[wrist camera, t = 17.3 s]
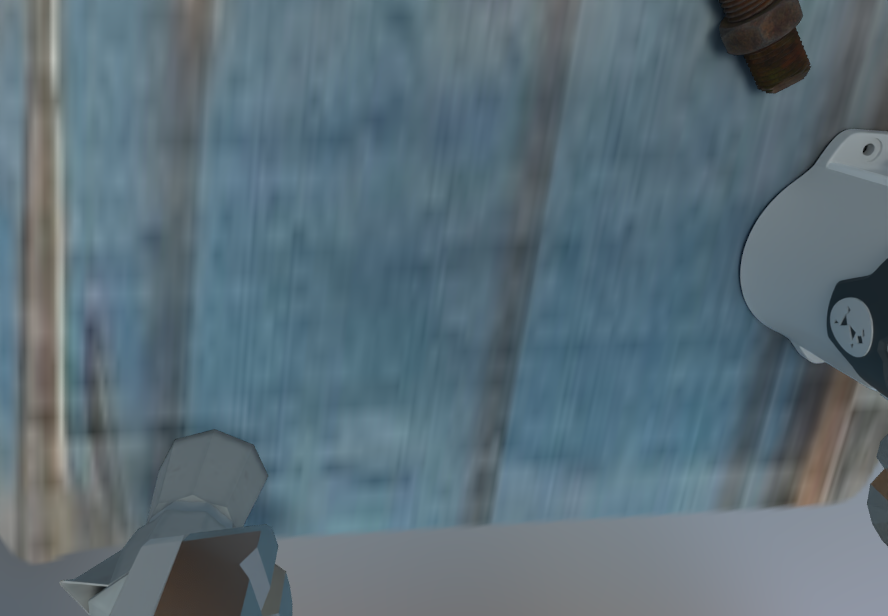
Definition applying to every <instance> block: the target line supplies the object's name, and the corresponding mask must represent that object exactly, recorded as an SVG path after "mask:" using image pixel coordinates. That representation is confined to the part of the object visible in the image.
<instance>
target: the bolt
mask: <svg viewBox="0 0 888 616" xmlns="http://www.w3.org/2000/svg"><path fill="white" fill-rule="evenodd" d="M719 3H722V4H721V7H722V8H724V10H723V12H724V13H726V15H725V17H724V18H723V20H722V21H721V23H720V26H719V29H720V35H721V39H722V41H723V43H724V45H725V47H726V50H727V52H728V53H729V54H734V55H744V58H745V59H746V63H748V67H749V68H750V71H751V72H752V76H753V77H754V80H755V81H756V82H755V83H756V85H758V86H757V88H758V89H761V90H762V91H766V93H777V92H779V91H781V90H783V89H785V88H787V87H789V86H791V85H793V84H795V83H797V82H798V81H800V80H802V79H804V77H805V76H806V75H807V73H808V71H809V70H810V67H811V66H809V65H810V62H809V59H808V58H807V55H806V52H805V50H804V46H803V45H802V41H800V37H799V35H798V32H797V31H796V26H797V25H798V24H799V22H800V21H801V19H802V17H803V14H802V10H801V7H800V4H799V1H798V0H719Z"/></svg>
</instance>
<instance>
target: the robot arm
mask: <svg viewBox="0 0 888 616" xmlns="http://www.w3.org/2000/svg"><path fill="white" fill-rule="evenodd" d="M866 145H868V147H867V150H866V151H865V152H864V153H863V148H864V147H865V146H866ZM740 280H741V288H742V292H743V296H744V299H745V301H746V303H747V305H748V307H749V309H750V310H751V312H752V313H753V315H754V316H755V317H756V318H757V319H758V320H759V321H760V322H761V323H763V324H764V325H765V326H767V327H768V328H770V329H772V330H774V331H776V332H778V333H780V334H782V335H784V336H786V337H787V338H788V339H790V341H791V342H792V344H793V346H794V347H795V349H796V350H797V351H798V353H799V354H800V355H801V356H802V357H804V358H805V359H807V360H809V361H810V362H812V363H817V364H818V363H824V362H826V363H828V364H830V365H831V366H833V367H834V368H836V369H838V370H839V371H841V372H843V373H844V374H846V375H848V376H849V377H851V378H853V379H854V380H856V381H858V382H859V383H861V384H863V385H865V386H866V387H868V388H870V389H872V390H875V391H879V392H880V395H881V396H883V397H884V398H885V399H887V400H888V131H877V130H864V129H848V130H845V131H843V132H841V133H840V134H838V135H837V136H836V137H835V138H834V139H833V140H832V141H831V143H830V144H829V145H828V146H827V148H826V149H825V150H824V152H823V153H822V155H821V156H820V157H819V159H818V160H817V162H816V163H815V165H814V166H813V167H812V168H811V169H810V170H808V171H807V172H806V173H805V174H804V175H802V176H801V177H800V178H798V179H797V180H796V181H794V182H793V183H792V184H790V185H789V186H788V187H787V188H785V189H784V190H783V191H782V192H781V193H780V194H779V195H778V196H777V197H776V198H775V199H774V200H773V201H772V202H771V203H770V204H769V205H768V206H767V208H766V209H765V210H764V211H763V213H762V214H761V216H760V217H759V219H758V220H757V222H756V223H755V225H754V227H753V229H752V231H751V233H750V235H749V237H748V239H747V242H746V245H745V248H744V251H743V255H742V260H741V269H740ZM877 459H878V460H879V462H880V463H881V464H882V466H883V467H884V470H883V471H882V472H881V473H880V474H879V475H878V476H877V477H876V478H875V480H874V481H873V482H872V483H871V484H870V490H869V495H868V501H867V505H868V509H869V513H870V517H871V521H872V524H873V526H874V528H875V529H876V531H877V533H878V534H879V536H880V538H881V539H882V541H883V542H884V543H885V544H886V545H887V546H888V434H887V435H886V436H885V437H884V438H883V440H882V441H881V442H880V446H879V450H878V453H877ZM277 550H278V544H277V541H276V538H275V535H274V532H273V529H272V527H271V526H269V525H267V524H263V525H255V526H247V527H238V528H230V529H222V530H214V531H206V532H198V533H190V534H189V535H180V536H172V537H164V538H155V539H150V540H149V541H148V542H146V543H145V544H144V545H143V546H142V547H141V548H140V550H139V552H138V554H137V556H136V559H135V561H134V563H133V565H132V567H131V569H130V572H129V574H128V576H127V578H126V580H125V582H124V585H123V587H122V589H121V591H120V593H119V595H118V597H117V600H116V602H115V604H114V606H113V608H112V610H111V613H110V615H109V616H292V597H291V590H290V584H289V581H288V577H287V574H286V571H285V570H283V569H282V568H280V567H279V566H277V565H276V564H275V560H276V555H277Z"/></svg>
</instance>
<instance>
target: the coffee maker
mask: <svg viewBox="0 0 888 616" xmlns="http://www.w3.org/2000/svg"><path fill="white" fill-rule="evenodd" d="M267 477H268V475H267V472H266V470H265V468H264V466H263V464H262V462H261V460H260V457H259V455H258V453H257V451H256V449H255V447H254V445H252V444H250V443H247V442H245V441H242V440H240V439H237V438H235V437H233V436H230V435H228V434H225V433H223V432H220V431H218V430H215V429H214V430H210V431H206V432H203V433H199V434H195V435H191V436H187V437H183V438H179V439H175V441H174V443H173V444H172V446H171V448H170V450H169V452H168V454H167V456H166V458H165V460H164V462H163V463H162V465H161V467H160V469H159V473H158V477H157V482H156V486H155V490H154V494H153V498H152V502H151V506H150V510H149V515H148V519H147V523H146V525H144V526H143V527H141V528H139V529H138V530H137V531H136V532H135V533H134V535H133V536H132V537H131V539H130V540H129V541H128V542H127V544H126V545H125V546H124V548H123V549H122V550H120V551H119V552H117V553H116V554H114V555H112V556H111V557H109V558H108V559H106V560H104V561H103V562H101V563H100V564H98V565H96V566H95V567H93V568H92V569H90V570H88V571H87V572H85V573H84V574H82V575H80V576H79V577H77V578H76V579H72V580H61V581H60V583H59V584H60V585H61V586H62V587H63V588H64V589H65V590H66V591H67V592H68V593H69V595H70V596H72V597H73V599H74V600H75V601H77V603H78V604H79V605H80V606H81V607H82V608H83V609H84V610H85V611H86V612H87V613H88V614H89V615H90V616H109V615H110V613H111V610H112V608H113V606H114V604H115V602H116V600H117V597H118V595H119V593H120V591H121V589H122V587H123V585H124V582H125V580H126V578H127V576H128V574H129V572H130V569H131V567H132V565H133V563H134V561H135V559H136V556H137V554H138V552H139V550H140V548H141V547H142V546H143V545H144V544H145V543H146V542H148V541H149V540H150V539H155V538H164V537H172V536H180V535H189V534H190V533H198V532H206V531H214V530H222V529H230V528H238V527H243V525H244V523H245V521H246V519H247V517H248V515H249V513H250V511H251V509H252V507H253V505H254V503H255V501H256V499H257V497H258V495H259V493H260V491H261V489H262V487H263V485H264V483H265V481H266V479H267Z"/></svg>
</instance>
